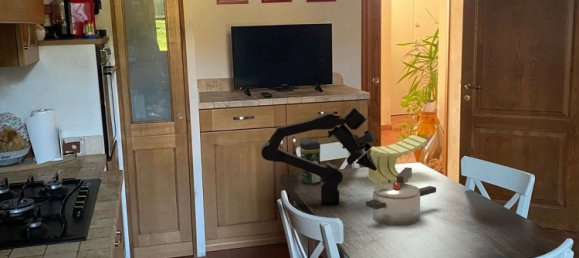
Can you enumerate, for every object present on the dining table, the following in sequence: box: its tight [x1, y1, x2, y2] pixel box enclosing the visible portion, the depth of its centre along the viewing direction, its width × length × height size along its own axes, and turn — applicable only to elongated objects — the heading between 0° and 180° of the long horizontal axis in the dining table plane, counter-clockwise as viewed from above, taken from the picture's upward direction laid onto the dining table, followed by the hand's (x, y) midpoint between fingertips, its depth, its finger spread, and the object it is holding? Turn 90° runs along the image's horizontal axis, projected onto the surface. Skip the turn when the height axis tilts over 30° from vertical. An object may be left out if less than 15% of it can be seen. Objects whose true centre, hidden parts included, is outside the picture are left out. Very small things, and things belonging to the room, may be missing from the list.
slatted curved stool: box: [347, 134, 428, 185], centre depth 256 cm, size 30×16×18 cm, turn 105°
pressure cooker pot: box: [365, 185, 437, 227], centre depth 206 cm, size 31×16×9 cm, turn 126°
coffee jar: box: [299, 138, 321, 185], centre depth 255 cm, size 10×8×19 cm
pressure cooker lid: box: [373, 167, 420, 199], centre depth 208 cm, size 27×15×4 cm, turn 156°
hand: (376, 169), depth 218 cm, fingers closed
